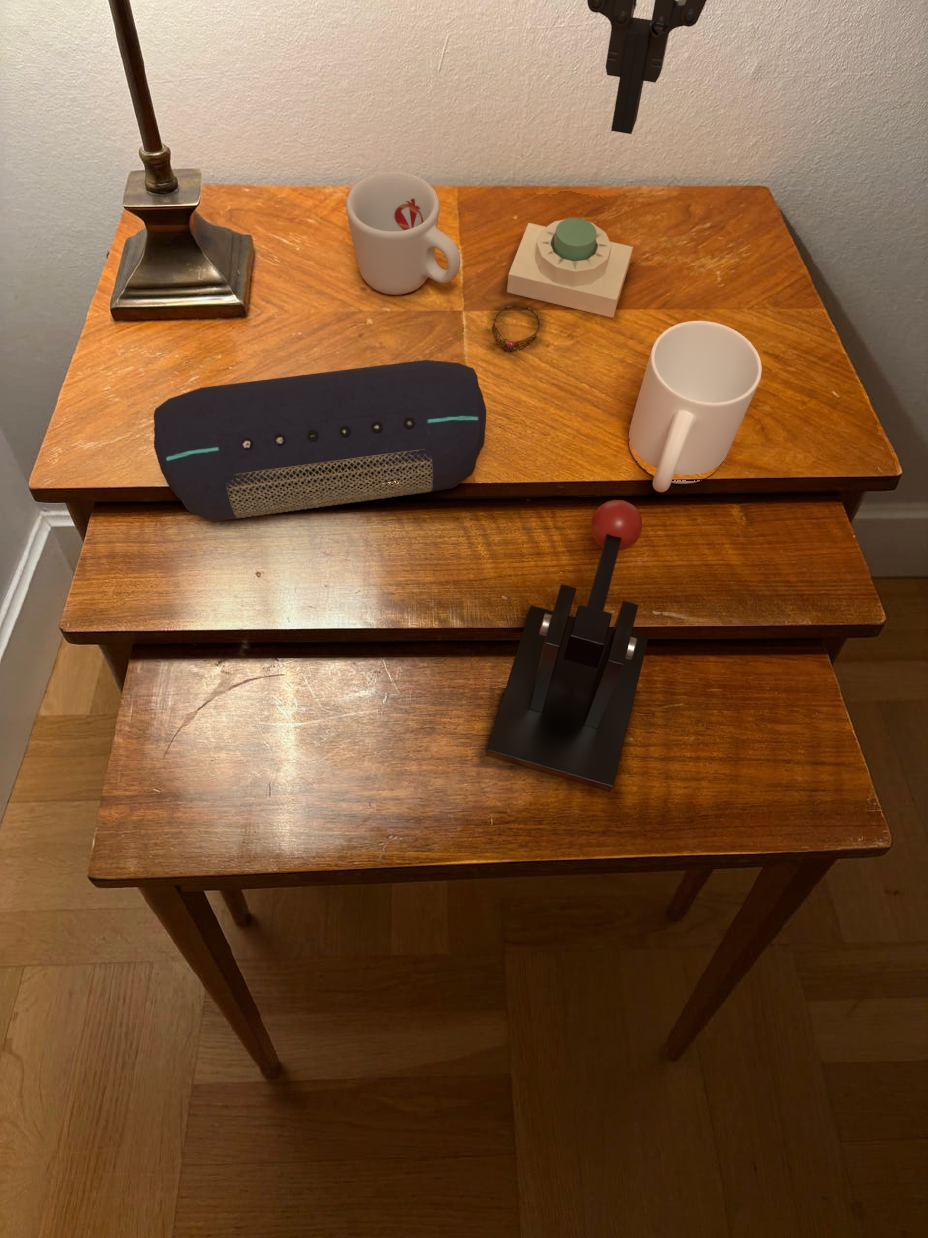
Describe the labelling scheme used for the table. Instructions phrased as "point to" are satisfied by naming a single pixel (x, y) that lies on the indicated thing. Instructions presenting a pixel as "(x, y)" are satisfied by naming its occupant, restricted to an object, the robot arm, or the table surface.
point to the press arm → (602, 580)
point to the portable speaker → (321, 438)
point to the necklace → (509, 345)
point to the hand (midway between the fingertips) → (624, 124)
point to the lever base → (568, 698)
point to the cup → (398, 233)
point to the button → (575, 239)
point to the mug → (693, 399)
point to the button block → (569, 272)
